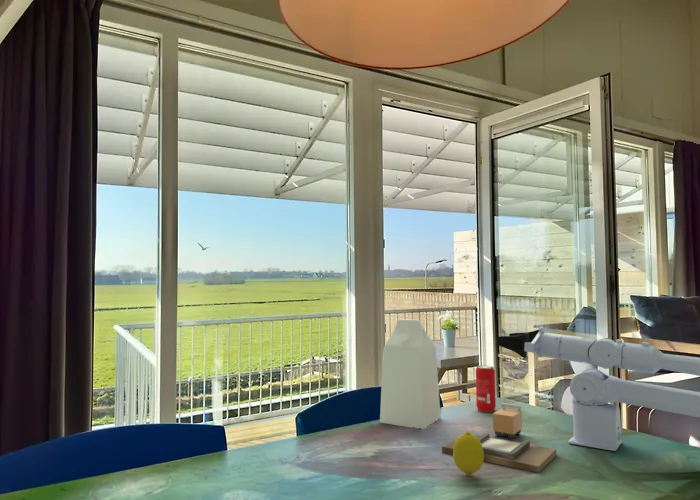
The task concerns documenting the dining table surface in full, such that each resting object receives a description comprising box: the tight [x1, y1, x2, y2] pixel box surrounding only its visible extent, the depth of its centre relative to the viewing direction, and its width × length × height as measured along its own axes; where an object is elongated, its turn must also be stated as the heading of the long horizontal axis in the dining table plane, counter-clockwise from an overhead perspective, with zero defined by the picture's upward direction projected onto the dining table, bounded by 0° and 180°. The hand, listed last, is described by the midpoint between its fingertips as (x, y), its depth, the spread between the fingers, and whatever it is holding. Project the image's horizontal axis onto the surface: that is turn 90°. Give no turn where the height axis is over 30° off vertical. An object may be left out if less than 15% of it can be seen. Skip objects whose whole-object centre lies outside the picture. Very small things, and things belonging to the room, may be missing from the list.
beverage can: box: [475, 365, 497, 413], centre depth 143 cm, size 5×5×12 cm
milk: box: [379, 318, 441, 430], centre depth 134 cm, size 12×12×26 cm
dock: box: [441, 433, 557, 473], centre depth 106 cm, size 20×12×2 cm, turn 53°
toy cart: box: [492, 402, 523, 439], centre depth 120 cm, size 6×5×6 cm
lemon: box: [452, 431, 484, 477], centre depth 95 cm, size 6×6×8 cm
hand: (504, 339), depth 126 cm, fingers open, 7 cm apart
